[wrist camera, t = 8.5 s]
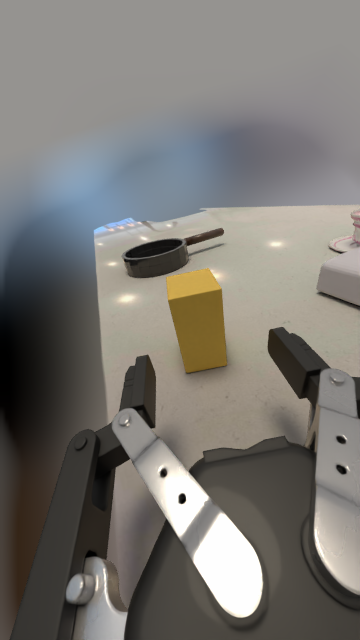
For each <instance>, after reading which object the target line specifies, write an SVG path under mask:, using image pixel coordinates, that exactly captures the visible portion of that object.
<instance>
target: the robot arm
mask: <svg viewBox="0 0 360 640" xmlns="http://www.w3.org/2000/svg"><path fill="white" fill-rule="evenodd" d="M268 352H269V354H270V356H271V358H272V359H273V361H274V362H275V364H276V365H277V367H278V368H279V370H280V371H281V372H282V374H283V375H284V377H285V378H286V380H287V381H288V383H289V384H290V386H291V387H292V389H293V390H294V392H295V393H296V395H297V396H298V398H299V399H302V398H308V400H309V401H310V403H311V404H310V412H309V421H308V431H307V438H306V442H305V447H304V446H302V445H299V444H296V443H291V442H288V441H287V439H286V437H285V436H281V437H276V438H271V439H265V440H263V441H261V442H259V443H257V444H256V445H254V446H252V447H250V448H248V449H245V450H242V449H232V448H218V449H213V450H208V451H203V455H204V458H202V459H200V460H199V461H197V462H196V463H195V464H194V465H193V466H192V467H191V468H190V470H189V471H187V469H186V468H185V467H184V466H183V465H182V463H181V462H180V461H179V460H178V459H177V457H176V456H175V455H174V454H173V453H172V451H171V450H170V449H169V448H168V447H167V445H166V444H165V443H164V442H163V441H162V439H161V438H160V437H157V436H156V434H155V433H154V432H153V431H152V430H151V428H155V411H156V376H155V371H154V368H153V365H152V363H151V360H150V357H149V355H144V356H139V357H137V358H136V363H135V366H130V367H129V369H128V371H127V372H126V375H125V382H124V388H123V392H122V398H121V404H120V409H119V413H118V414H117V415H116V416H115V417H114V419H113V421H112V422H111V423H110V424H109V425H107V426H105V427H104V428H102V429H100V430H98V431H96V432H94V431H92V430H89V429H87V430H83V431H81V432H79V433H78V434H76V435H75V436H74V437H73V438H72V440H71V441H70V443H69V445H68V447H67V451H66V454H65V457H64V461H63V464H62V467H61V471H60V474H59V477H58V481H57V484H56V487H55V491H54V494H53V497H52V501H51V504H50V507H49V511H48V514H47V518H46V521H45V524H44V527H43V530H42V534H41V537H40V541H39V544H38V547H37V551H36V554H35V557H34V561H33V564H32V567H31V570H30V574H29V577H28V580H27V584H26V587H25V590H24V594H23V597H22V600H21V604H20V607H19V611H18V614H17V617H16V620H15V624H14V627H13V630H12V634H11V637H10V640H360V377H351V376H350V375H348V374H347V373H345V372H343V371H341V370H338V369H332V368H330V367H329V366H328V365H327V364H326V363H325V362H324V361H323V359H322V358H321V357H320V356H319V355H318V354H317V353H316V352H315V351H314V350H313V349H311V347H310V346H309V345H307V343H306V342H305V341H304V340H303V339H302V338H301V337H299V336H297V335H296V334H294V333H291V334H289V333H288V332H287V331H286V330H285V328H283V327H279V328H275V329H270V330H269V338H268ZM129 459H131V460H132V463H133V465H134V467H135V468H136V470H137V471H138V473H139V475H140V476H141V478H142V479H143V481H144V483H145V484H146V486H147V487H148V489H149V491H150V492H151V494H152V495H153V497H154V499H155V500H156V502H157V503H158V505H159V507H160V508H161V510H162V512H163V513H164V515H165V516H166V521H165V523H164V525H163V527H162V530H161V532H160V534H159V536H158V539H157V541H156V543H155V545H154V548H153V550H152V552H151V555H150V557H149V559H148V561H147V564H146V566H145V568H144V570H143V573H142V575H141V577H140V579H139V582H138V584H137V586H136V588H135V591H134V593H133V596H132V599H131V602H130V605H129V609H127V608H126V607H125V606H124V604H123V603H122V600H121V597H120V593H119V578H118V572H117V569H116V567H115V565H114V564H113V563H112V562H111V561H108V560H106V558H107V549H108V539H109V528H110V519H111V509H112V500H113V490H114V480H115V470H116V467H117V466H119V465H121V464H123V463H124V462H126V461H128V460H129Z"/></svg>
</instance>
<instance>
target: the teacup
mask: <svg viewBox="0 0 360 640" xmlns="http://www.w3.org/2000/svg"><path fill="white" fill-rule="evenodd" d="M351 218H352V219H353V220H354V223H353V225H354V226H355V231H354V234H353V235H349V236H343V237H339V238H336V239H334V240H332V241H331V242H330V243H329V246H330V248H332V249H334V250H336V251H340V252H344V253H346V252H348V251H351V250H353V249H356V248H359V247H360V209H357V210H354V211H353V212H352V213H351Z"/></svg>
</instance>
